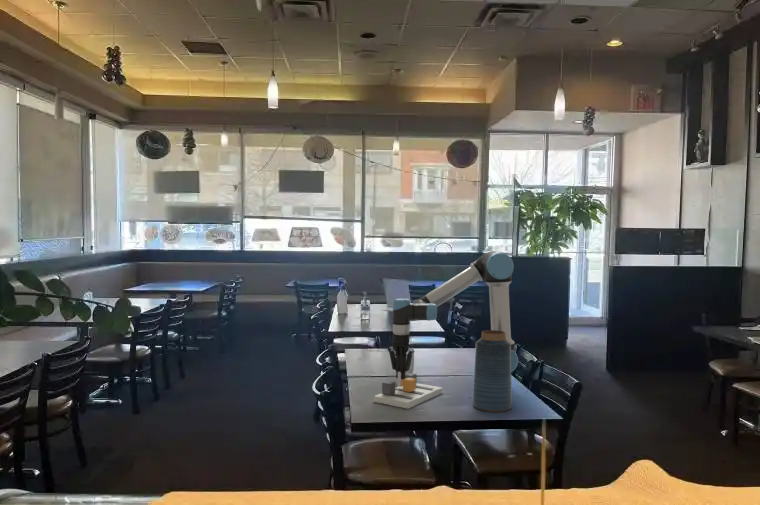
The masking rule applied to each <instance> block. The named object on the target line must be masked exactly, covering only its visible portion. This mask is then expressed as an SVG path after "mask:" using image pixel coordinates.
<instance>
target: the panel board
mask: <svg viewBox="0 0 760 505" xmlns="http://www.w3.org/2000/svg"><path fill="white" fill-rule="evenodd" d="M406 378H414V379H416V380H417V373H407V374H405V379H406ZM381 385H382V386H381V392H380V393H378V394H376V395H374V397H373V402H374V403H378V404H382V403H383V404H385V405H387V404H388V406H393V407H398V408H403V409H411V408H413V407H415V406H417V405H419V404H421V403H424V402H426V401H428V400H430V399H433V398H435V397H437V396H439V395H442V394H443V387H441V386H434V385H429V384H425V383H418V382H416V390H415V391H412V392H407V391H403V386H402V387H398V386H397V387H396V381H392V380H385V381H383V382H381Z"/></svg>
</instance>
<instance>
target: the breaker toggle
mask: <svg viewBox="0 0 760 505" xmlns="http://www.w3.org/2000/svg"><path fill="white" fill-rule="evenodd" d="M416 383H417V378H416V379H414V378H406V379H403V391H407V392H412V391H415V390H416Z"/></svg>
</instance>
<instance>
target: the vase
mask: <svg viewBox="0 0 760 505" xmlns="http://www.w3.org/2000/svg"><path fill="white" fill-rule="evenodd" d="M480 336H481V337H480V338H479V339H478V340H477V341H475V351H474V353H475V354H474V372H473V385H472V386H473V388H472V391H473V392H472V405H473V406H474V408H475V409H477V410H480V411H484V412H490V413H499V412H500V413H501V412H502V413H503V412H507V411H509V410H510V409H511V408H512V406H513V395H512V394H513V392H512V391H513V390H512V385H513V384H512V372H511V343H509V342H508V341H507V340H506V336H505V332H503V331H496V330H491V329H487V330H485V329H484V330H482V331H481V335H480Z"/></svg>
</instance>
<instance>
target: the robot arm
mask: <svg viewBox="0 0 760 505" xmlns="http://www.w3.org/2000/svg"><path fill="white" fill-rule="evenodd" d="M514 266H515V265H514V261H513V258H512V257H510V255H509V254H507V253H505V252H503V251H495V250H491V251H488V252H485V253H484V254H482V256H480V257H478V258H477V259H476V260H475V261H473V262H471V263H470V265H469V267H468V268H466V269H464V270H463V271H462V272H460V273H458V274H456V275H454V276H453V277H452V278H450V279H448V280H447V281H445V282H444V283H442V284H441V285H439V286H437V287H436V288H435V289H433V290H431V291H430V292H428V293H426V294H425V295H424V296H421V297H420V298H418V299H415V300H413V302H411V300H410V299H409V298H395V299H394V300H393V304H392V346H389V347H388V348H387V351H388V353H389V357H390V358H389V359H390V362H391V367H392V370H395V373H396V374H395V377H396V379H397V387H402V386H403V379H405V372H406V371H408V370H409V368H410V364H411V360H412V355H413V354H414V355H415V350H411V346H410V326H411V325H410V322H411V321H429V322H430V321H435V320H436V319H437V317H438V307H440V305H443V304H444V303H446V302H447V301H448V300H450V299H452V298H453V297H455V296H457V295H459V293H462V292H463V291H464V290H466V289H468V288H469V287H470V286H472V285H474V284H475V283H477V282H479V281H480V282H483V281H485V284H486V285H487V286H488V294H489V313H490V316H489V317H490V330H496V331H503V332H505V336H506V340H507V341H508V342H509V343H511V373H512V372H515V370H516V369H517V367H518V365H519V357H518V354H517V353H516V345H515V344H516V342H515V340H513V339H512V335H511V334H512V332H511V331H512V330H511V313H510V288H509V285H510V284H511V283H513V282H512V280H513V279H512V277H513V276H512V274H513V272H514V271H515V270H514V269H515V268H514ZM407 353H408V355H407ZM406 355H407V359H406ZM400 370H401V371H400Z"/></svg>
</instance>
